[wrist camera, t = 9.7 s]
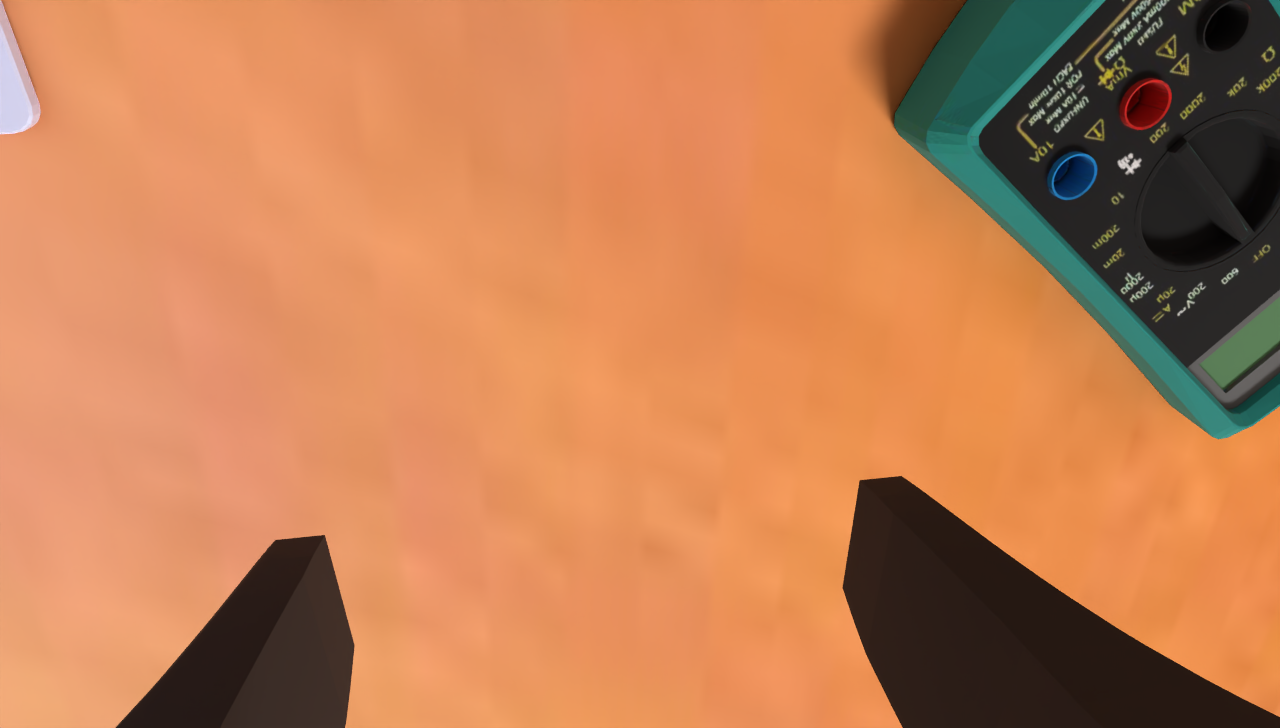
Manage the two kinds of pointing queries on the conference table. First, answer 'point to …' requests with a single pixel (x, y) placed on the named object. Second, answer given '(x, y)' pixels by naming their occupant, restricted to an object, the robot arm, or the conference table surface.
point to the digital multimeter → (1129, 174)
